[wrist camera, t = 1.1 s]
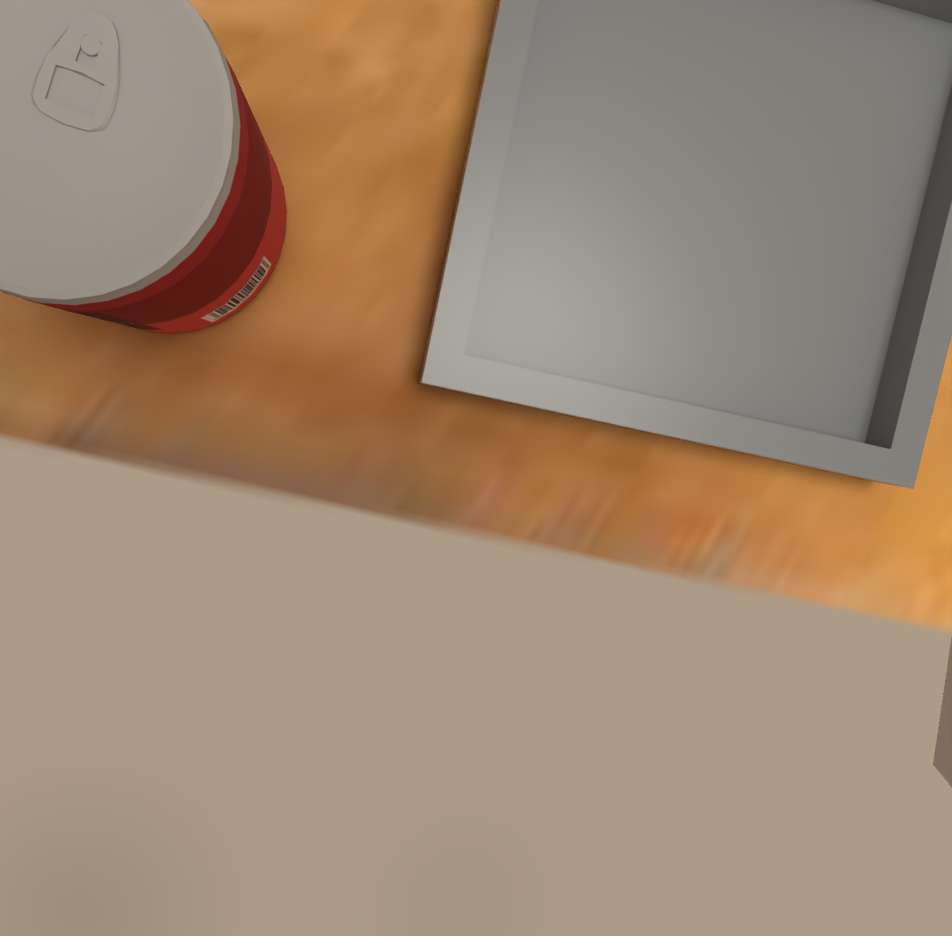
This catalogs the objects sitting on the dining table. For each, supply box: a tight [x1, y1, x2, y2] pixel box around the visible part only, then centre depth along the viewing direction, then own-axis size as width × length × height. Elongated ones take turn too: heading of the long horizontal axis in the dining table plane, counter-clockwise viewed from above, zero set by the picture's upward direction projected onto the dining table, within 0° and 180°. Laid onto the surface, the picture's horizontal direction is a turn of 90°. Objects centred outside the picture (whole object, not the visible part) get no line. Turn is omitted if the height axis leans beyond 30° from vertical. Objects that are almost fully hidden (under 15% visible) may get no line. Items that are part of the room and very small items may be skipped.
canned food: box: [0, 0, 287, 333], centre depth 24 cm, size 8×8×11 cm
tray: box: [419, 0, 952, 489], centre depth 30 cm, size 18×18×2 cm
